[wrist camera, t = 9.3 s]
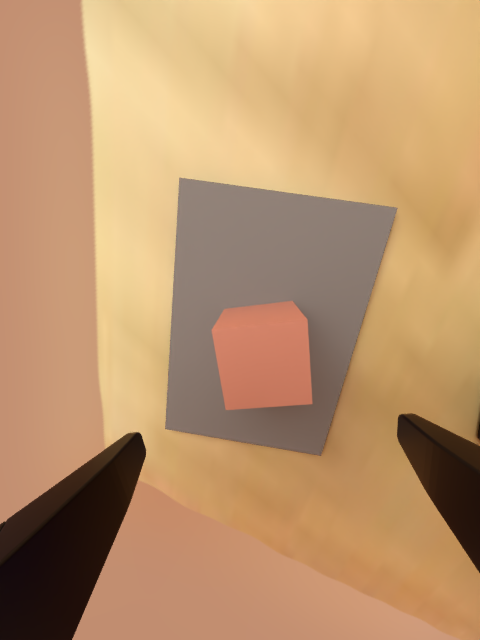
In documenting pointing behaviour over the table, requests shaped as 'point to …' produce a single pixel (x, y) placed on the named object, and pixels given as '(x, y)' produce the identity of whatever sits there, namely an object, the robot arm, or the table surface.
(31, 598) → the robot arm
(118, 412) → the table surface
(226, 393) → the block
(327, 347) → the mat
